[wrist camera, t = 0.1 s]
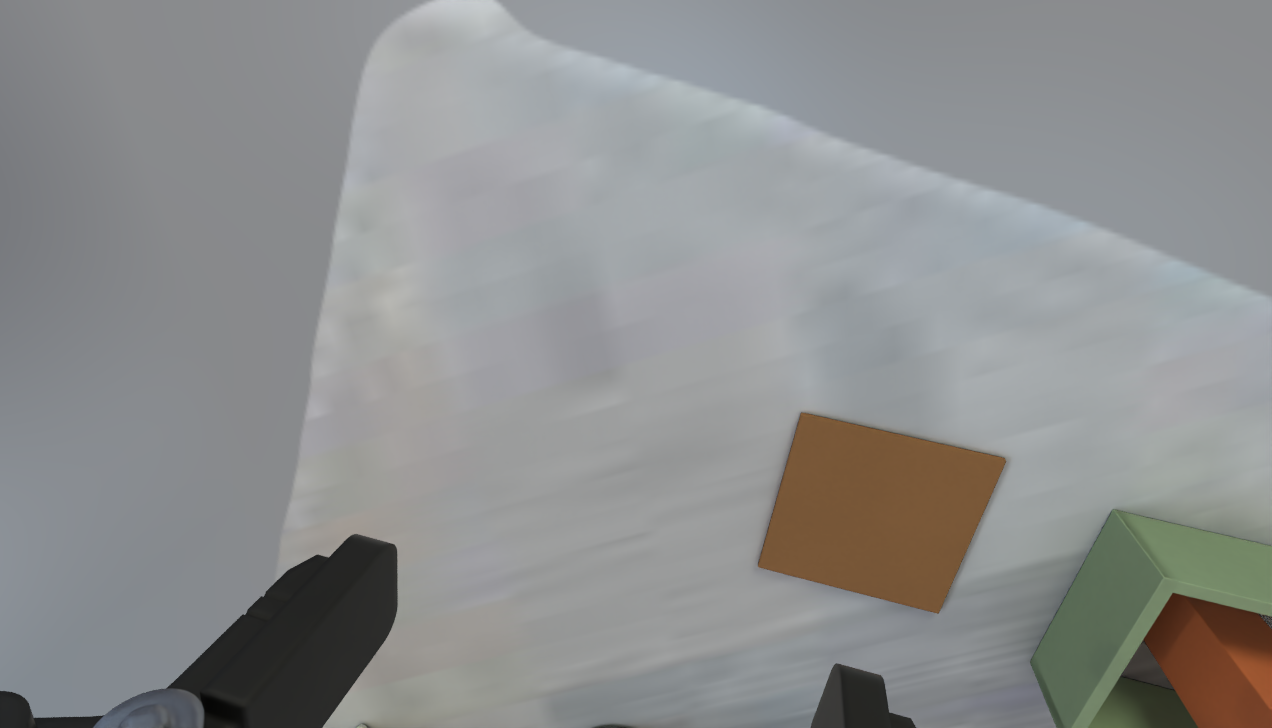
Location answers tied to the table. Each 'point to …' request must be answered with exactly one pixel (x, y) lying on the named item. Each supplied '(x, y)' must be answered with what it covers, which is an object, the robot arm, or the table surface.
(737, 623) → the table surface
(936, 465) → the cork mat
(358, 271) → the table surface
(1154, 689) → the bin
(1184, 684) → the tea packet
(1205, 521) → the table surface
